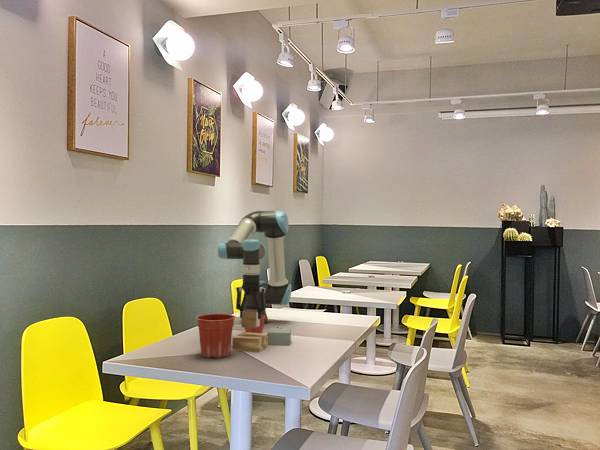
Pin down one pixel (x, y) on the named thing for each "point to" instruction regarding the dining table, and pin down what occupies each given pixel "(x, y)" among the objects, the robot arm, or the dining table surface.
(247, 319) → the walnut block
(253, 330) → the flower pot
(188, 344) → the dining table surface
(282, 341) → the sage green pedestal
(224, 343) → the flower pot
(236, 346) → the oak pedestal
